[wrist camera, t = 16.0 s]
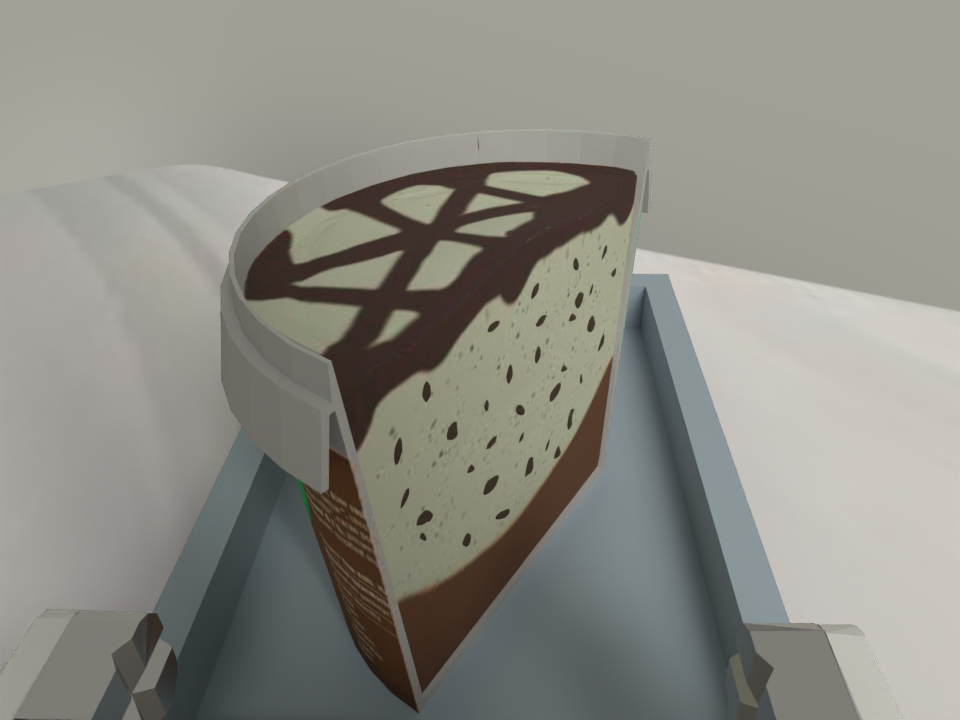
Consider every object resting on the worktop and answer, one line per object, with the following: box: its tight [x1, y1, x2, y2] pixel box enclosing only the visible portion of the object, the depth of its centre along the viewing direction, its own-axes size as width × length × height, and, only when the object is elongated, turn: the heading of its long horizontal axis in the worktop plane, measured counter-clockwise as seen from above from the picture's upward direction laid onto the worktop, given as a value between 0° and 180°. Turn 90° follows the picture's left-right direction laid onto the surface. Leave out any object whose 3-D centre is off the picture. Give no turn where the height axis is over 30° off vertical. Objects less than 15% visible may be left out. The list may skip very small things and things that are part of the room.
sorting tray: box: [153, 274, 790, 720], centre depth 22 cm, size 14×20×2 cm
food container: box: [221, 129, 652, 714], centre depth 18 cm, size 12×6×10 cm, turn 146°
